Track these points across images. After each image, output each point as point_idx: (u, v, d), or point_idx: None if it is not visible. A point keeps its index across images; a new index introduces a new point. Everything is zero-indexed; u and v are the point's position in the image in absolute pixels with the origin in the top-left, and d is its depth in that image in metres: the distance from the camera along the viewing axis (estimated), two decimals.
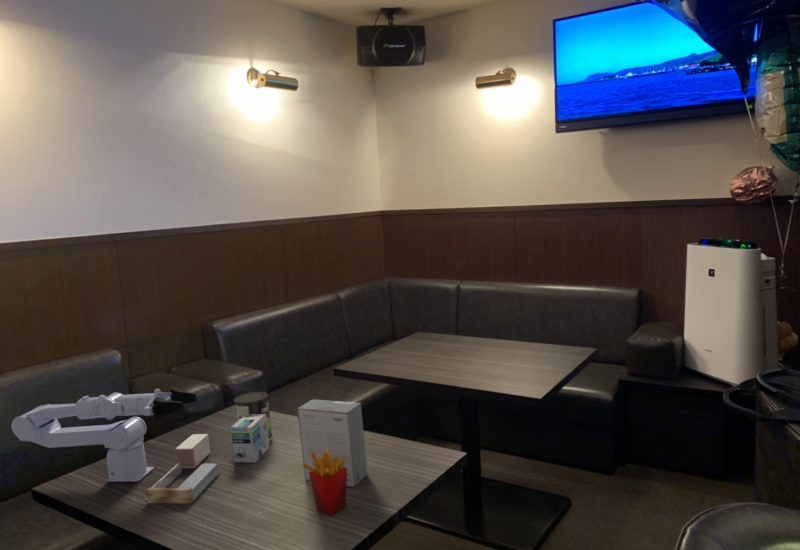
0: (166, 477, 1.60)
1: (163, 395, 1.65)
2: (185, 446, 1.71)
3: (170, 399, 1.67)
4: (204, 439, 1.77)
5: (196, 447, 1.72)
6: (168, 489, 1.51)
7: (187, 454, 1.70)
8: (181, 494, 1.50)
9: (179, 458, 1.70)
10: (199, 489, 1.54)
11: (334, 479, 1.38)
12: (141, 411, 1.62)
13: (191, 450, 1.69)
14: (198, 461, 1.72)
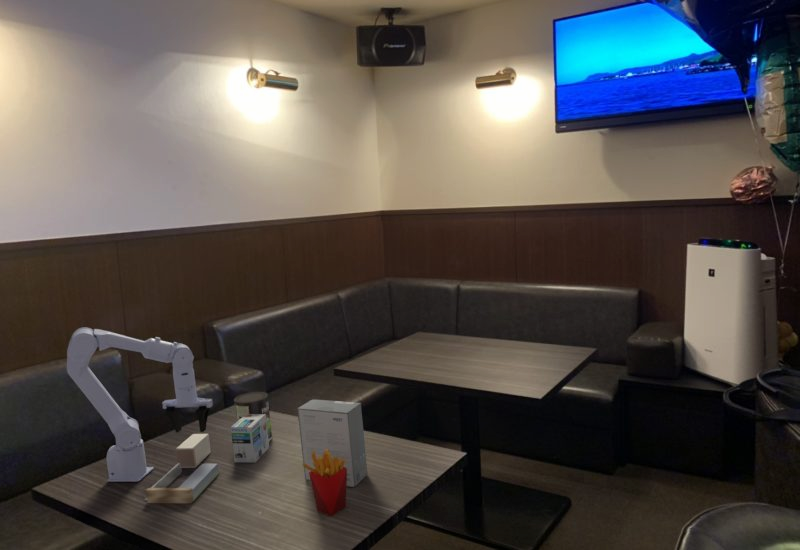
0: (166, 477, 1.60)
1: None
2: (185, 446, 1.71)
3: None
4: (204, 439, 1.77)
5: (197, 446, 1.72)
6: (168, 489, 1.51)
7: (187, 454, 1.70)
8: (181, 494, 1.50)
9: (180, 458, 1.70)
10: (199, 489, 1.54)
11: (334, 479, 1.38)
12: (191, 390, 1.71)
13: (192, 450, 1.70)
14: (199, 461, 1.73)
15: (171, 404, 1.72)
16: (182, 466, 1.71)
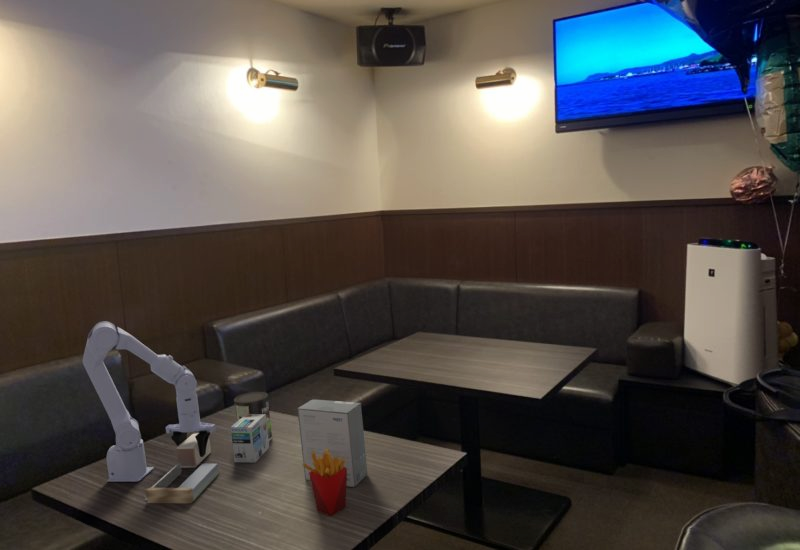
0: (166, 477, 1.60)
1: None
2: (185, 445, 1.71)
3: None
4: None
5: (197, 446, 1.72)
6: (168, 489, 1.51)
7: (187, 453, 1.70)
8: (181, 494, 1.50)
9: (180, 457, 1.71)
10: (199, 489, 1.54)
11: (334, 479, 1.38)
12: (194, 415, 1.72)
13: (192, 449, 1.70)
14: (199, 460, 1.73)
15: (174, 429, 1.73)
16: (182, 466, 1.71)
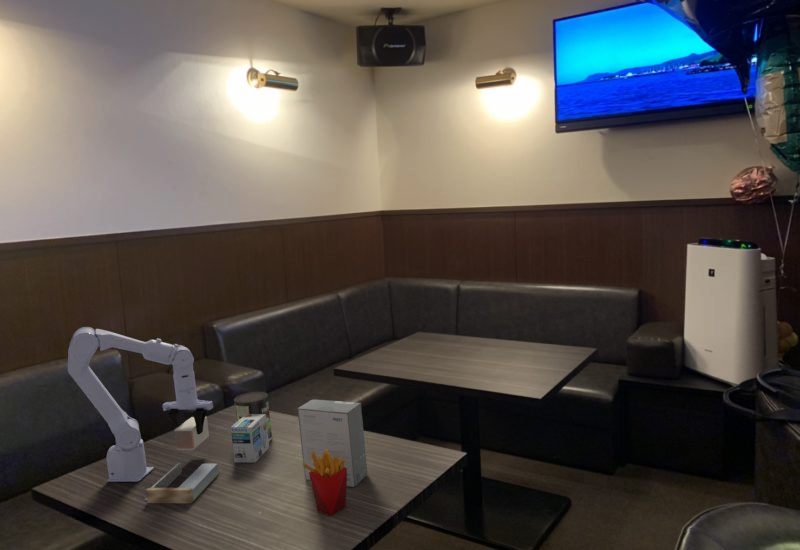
0: (166, 477, 1.60)
1: None
2: (183, 427, 1.71)
3: None
4: None
5: (195, 428, 1.72)
6: (168, 489, 1.51)
7: (185, 436, 1.69)
8: (181, 494, 1.50)
9: (178, 439, 1.70)
10: (199, 489, 1.54)
11: (334, 479, 1.38)
12: (192, 392, 1.71)
13: (190, 431, 1.69)
14: (197, 443, 1.72)
15: (171, 406, 1.72)
16: (180, 448, 1.70)
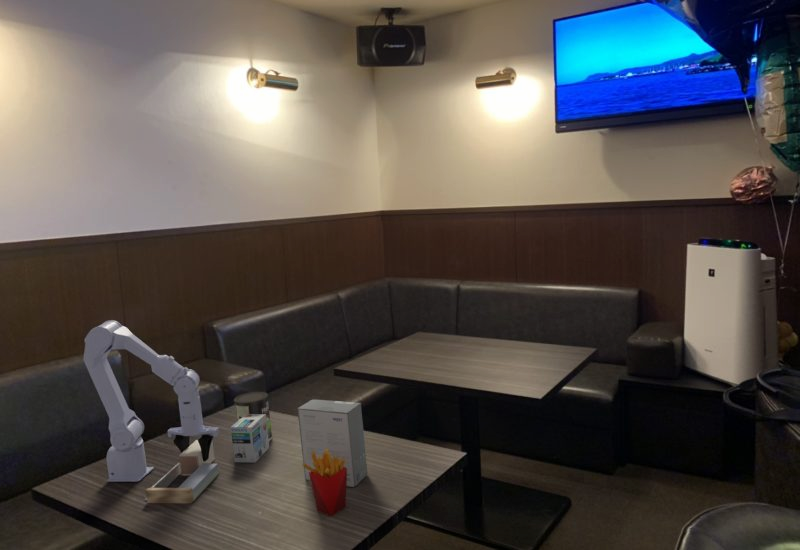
0: (166, 477, 1.60)
1: None
2: (189, 452, 1.66)
3: None
4: None
5: (201, 453, 1.67)
6: (168, 489, 1.51)
7: (191, 461, 1.65)
8: (181, 494, 1.50)
9: (183, 465, 1.65)
10: (199, 489, 1.54)
11: (334, 479, 1.38)
12: (197, 418, 1.66)
13: (195, 457, 1.64)
14: None
15: (176, 433, 1.67)
16: (185, 473, 1.66)
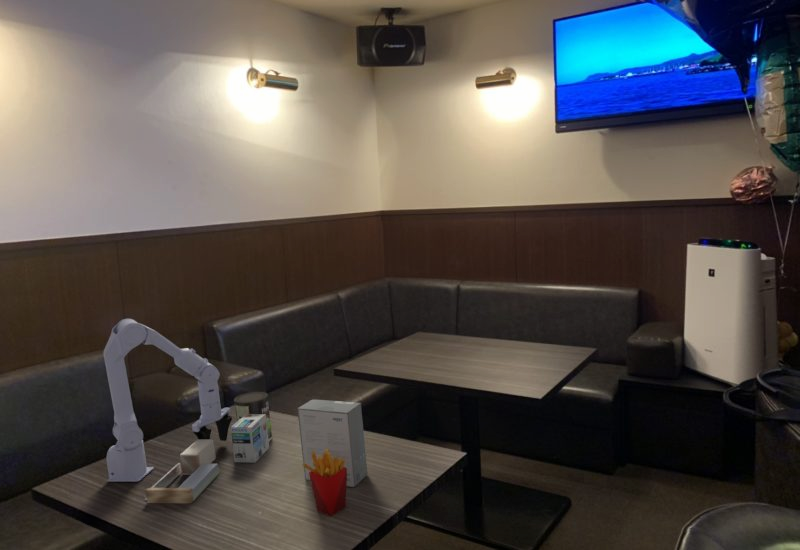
0: (166, 477, 1.60)
1: None
2: (190, 452, 1.67)
3: None
4: (209, 444, 1.72)
5: (202, 452, 1.68)
6: (168, 489, 1.51)
7: (192, 460, 1.65)
8: (181, 494, 1.50)
9: (184, 464, 1.66)
10: (199, 489, 1.54)
11: (334, 479, 1.38)
12: None
13: (196, 456, 1.65)
14: None
15: (207, 422, 1.75)
16: (186, 473, 1.66)
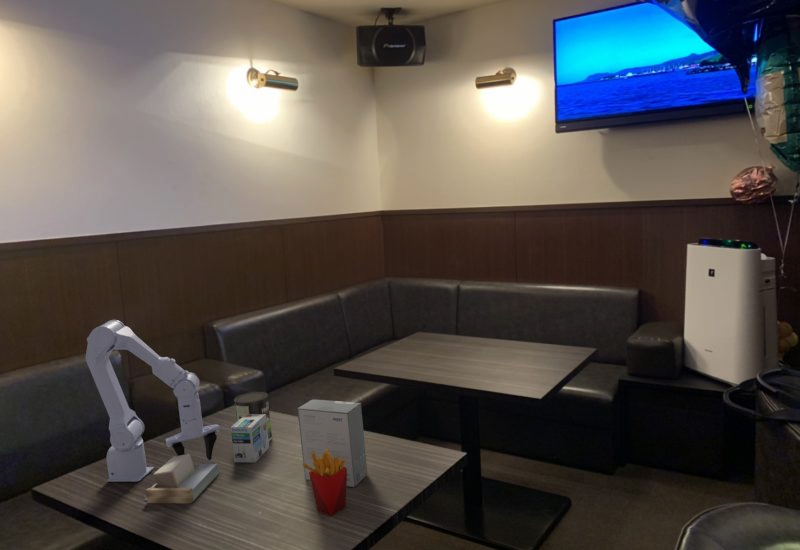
0: None
1: None
2: (164, 469, 1.56)
3: None
4: (185, 459, 1.61)
5: (177, 468, 1.56)
6: (168, 489, 1.51)
7: (166, 478, 1.54)
8: (181, 494, 1.50)
9: (159, 483, 1.55)
10: (199, 489, 1.54)
11: (334, 479, 1.38)
12: (201, 418, 1.68)
13: (170, 473, 1.54)
14: None
15: (180, 439, 1.64)
16: None
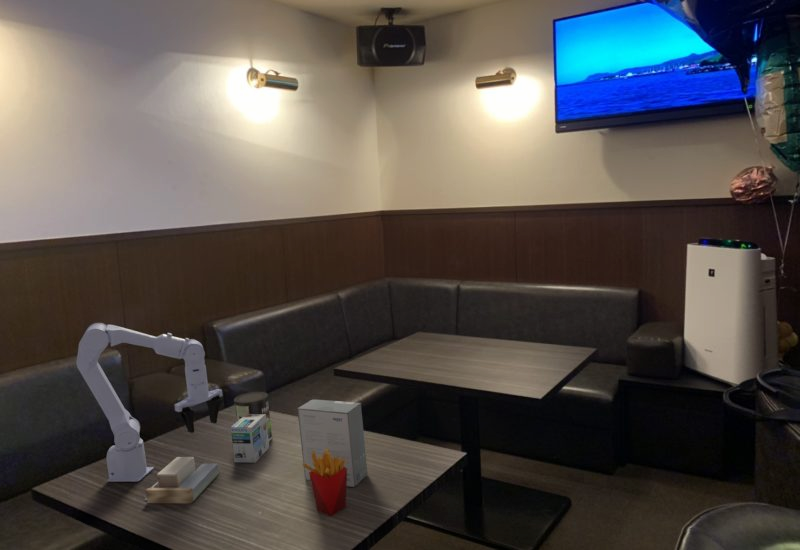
0: None
1: None
2: (167, 471, 1.56)
3: None
4: (189, 463, 1.61)
5: (180, 472, 1.56)
6: (168, 489, 1.51)
7: (169, 481, 1.54)
8: (181, 494, 1.50)
9: (161, 484, 1.55)
10: (199, 489, 1.54)
11: (334, 479, 1.38)
12: (207, 383, 1.73)
13: (174, 476, 1.54)
14: None
15: (190, 403, 1.68)
16: None
